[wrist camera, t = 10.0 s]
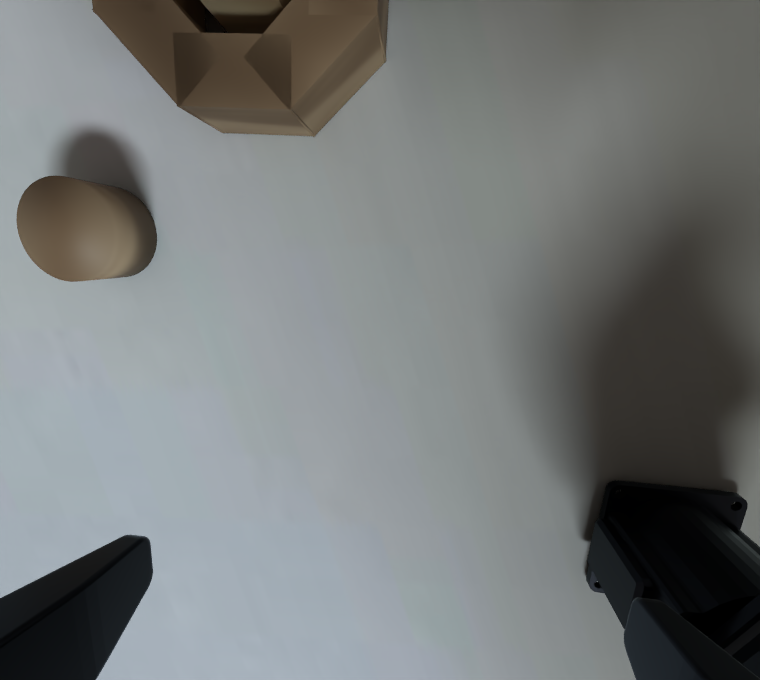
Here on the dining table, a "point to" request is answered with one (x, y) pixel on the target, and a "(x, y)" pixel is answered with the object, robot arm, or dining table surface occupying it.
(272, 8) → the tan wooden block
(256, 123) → the wooden octagonal ring
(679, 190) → the dining table surface
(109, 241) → the loose bead
